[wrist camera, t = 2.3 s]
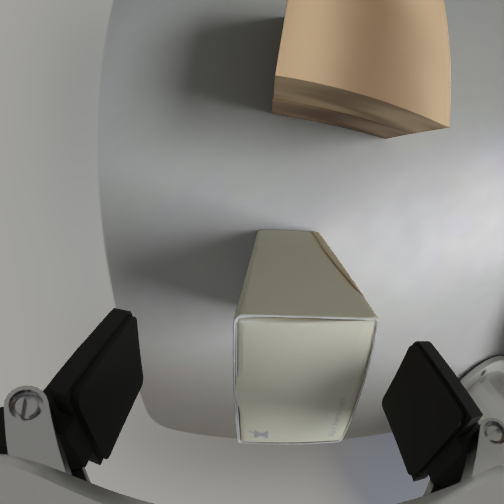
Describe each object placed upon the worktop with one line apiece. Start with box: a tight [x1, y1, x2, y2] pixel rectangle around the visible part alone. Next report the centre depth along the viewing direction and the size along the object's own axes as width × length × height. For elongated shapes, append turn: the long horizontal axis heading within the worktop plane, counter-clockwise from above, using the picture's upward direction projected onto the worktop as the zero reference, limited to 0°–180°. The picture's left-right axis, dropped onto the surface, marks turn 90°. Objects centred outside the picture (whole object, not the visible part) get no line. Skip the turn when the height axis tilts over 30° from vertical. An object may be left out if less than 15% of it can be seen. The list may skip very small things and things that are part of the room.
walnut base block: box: [272, 0, 410, 139], centre depth 14 cm, size 8×8×4 cm
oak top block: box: [273, 0, 451, 134], centre depth 10 cm, size 8×8×4 cm
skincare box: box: [233, 230, 379, 445], centre depth 14 cm, size 6×4×12 cm
